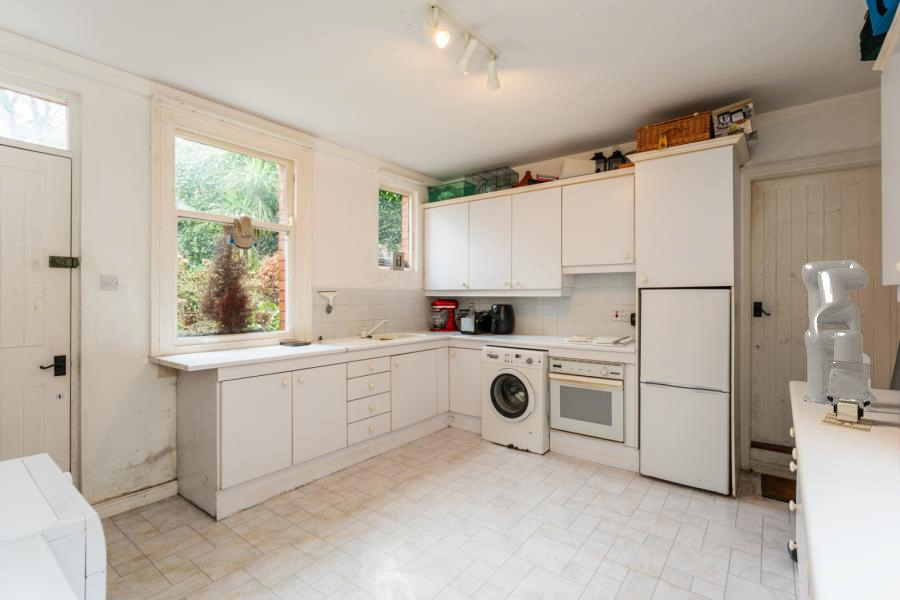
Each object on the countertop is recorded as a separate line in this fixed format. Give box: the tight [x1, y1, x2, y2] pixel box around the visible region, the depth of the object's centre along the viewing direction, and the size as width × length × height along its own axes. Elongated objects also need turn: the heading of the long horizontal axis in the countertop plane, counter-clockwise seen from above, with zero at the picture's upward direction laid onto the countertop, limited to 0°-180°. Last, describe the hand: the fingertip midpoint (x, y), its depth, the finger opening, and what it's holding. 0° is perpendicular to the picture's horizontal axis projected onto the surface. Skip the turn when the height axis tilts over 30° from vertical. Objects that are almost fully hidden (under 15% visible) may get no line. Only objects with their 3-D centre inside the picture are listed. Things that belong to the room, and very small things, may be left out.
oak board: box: [820, 411, 875, 433], centre depth 147 cm, size 22×12×1 cm, turn 132°
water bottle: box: [845, 352, 872, 412], centre depth 163 cm, size 7×7×25 cm
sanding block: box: [837, 398, 859, 423], centre depth 149 cm, size 8×5×6 cm, turn 132°
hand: (848, 416), depth 149 cm, fingers closed on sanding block, 5 cm apart
